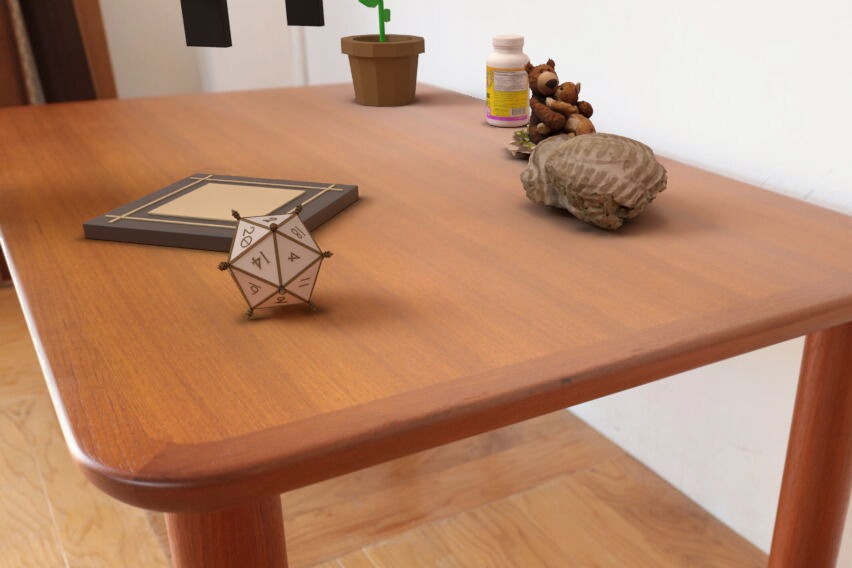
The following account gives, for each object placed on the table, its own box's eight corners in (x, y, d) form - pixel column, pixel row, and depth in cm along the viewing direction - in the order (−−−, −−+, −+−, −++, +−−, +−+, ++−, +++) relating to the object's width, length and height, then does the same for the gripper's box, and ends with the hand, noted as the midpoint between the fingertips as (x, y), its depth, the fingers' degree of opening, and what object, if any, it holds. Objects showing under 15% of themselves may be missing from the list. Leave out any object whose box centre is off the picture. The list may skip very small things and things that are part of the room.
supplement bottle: (493, 118, 142) (493, 33, 136) (534, 121, 140) (535, 34, 135) (480, 126, 136) (480, 37, 131) (522, 129, 134) (524, 39, 129)
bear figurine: (532, 173, 110) (534, 71, 105) (495, 147, 123) (495, 55, 118) (632, 166, 114) (639, 67, 109) (586, 141, 127) (590, 52, 122)
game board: (84, 238, 86) (81, 221, 85) (197, 185, 104) (195, 171, 103) (275, 256, 82) (273, 239, 81) (359, 198, 100) (358, 183, 99)
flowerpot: (355, 92, 162) (344, -92, 149) (433, 94, 161) (429, -91, 148) (333, 107, 149) (318, -93, 136) (418, 109, 148) (411, -93, 135)
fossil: (499, 178, 101) (533, 94, 98) (599, 214, 106) (633, 134, 103) (548, 225, 85) (590, 126, 82) (662, 264, 91) (705, 172, 88)
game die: (297, 358, 71) (298, 292, 63) (199, 315, 71) (187, 243, 63) (346, 275, 76) (353, 203, 67) (254, 234, 76) (250, 157, 67)
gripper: (153, -426, 41) (215, 60, 49) (363, -301, 63) (380, 20, 72) (12, -413, 42) (97, 55, 51) (265, -296, 64) (294, 17, 73)
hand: (262, 35), depth 61 cm, fingers open, 13 cm apart
